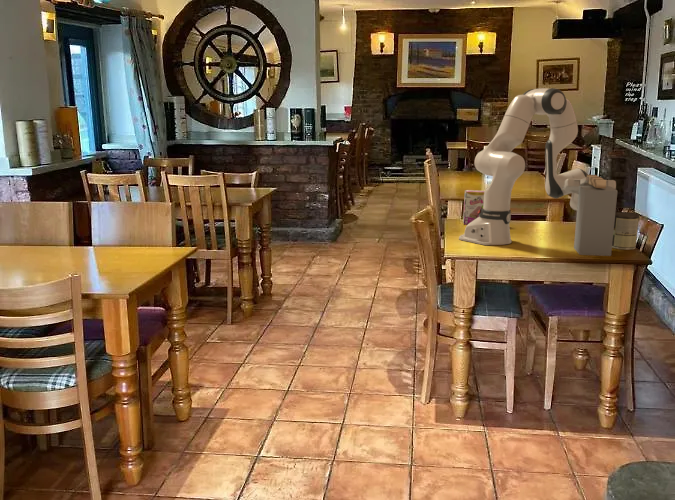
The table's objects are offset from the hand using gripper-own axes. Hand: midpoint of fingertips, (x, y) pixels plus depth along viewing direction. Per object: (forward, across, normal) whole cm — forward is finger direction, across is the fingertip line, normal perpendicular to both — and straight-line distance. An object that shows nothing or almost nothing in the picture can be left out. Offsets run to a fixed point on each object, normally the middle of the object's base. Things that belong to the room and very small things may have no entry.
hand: (593, 178), depth 273 cm
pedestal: (-7, 0, +29) cm, 30 cm away
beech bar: (+3, 0, +4) cm, 5 cm away
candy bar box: (-51, -44, +4) cm, 68 cm away
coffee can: (-17, +15, +24) cm, 32 cm away
